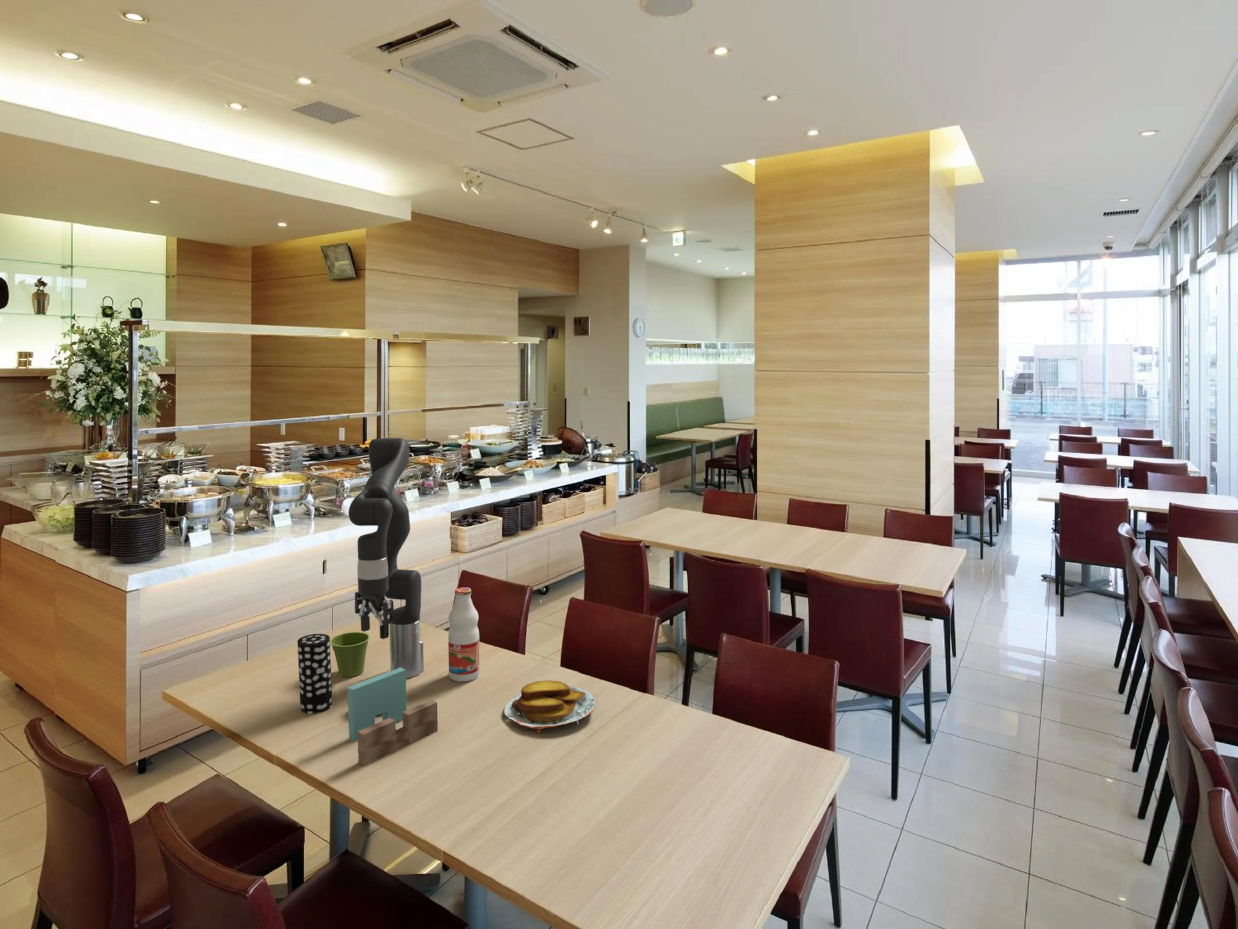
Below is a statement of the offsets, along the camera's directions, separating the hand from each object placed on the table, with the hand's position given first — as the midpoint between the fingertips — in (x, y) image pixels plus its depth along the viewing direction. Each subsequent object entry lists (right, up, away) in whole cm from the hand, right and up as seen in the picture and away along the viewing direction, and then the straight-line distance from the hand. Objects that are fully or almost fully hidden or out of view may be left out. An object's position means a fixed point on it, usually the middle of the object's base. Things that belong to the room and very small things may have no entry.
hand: (374, 634), depth 189 cm
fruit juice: (+16, -22, +37) cm, 45 cm away
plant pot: (-20, -21, +38) cm, 48 cm away
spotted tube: (-21, -24, +15) cm, 36 cm away
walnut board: (+8, -27, -5) cm, 29 cm away
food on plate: (+45, -26, +14) cm, 54 cm away
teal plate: (0, -26, +3) cm, 26 cm away
